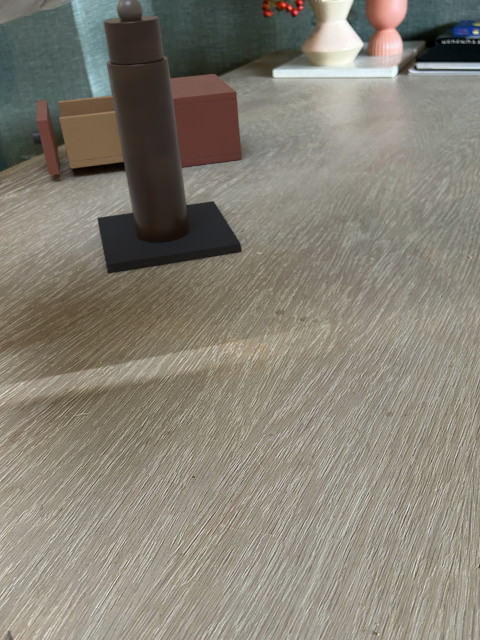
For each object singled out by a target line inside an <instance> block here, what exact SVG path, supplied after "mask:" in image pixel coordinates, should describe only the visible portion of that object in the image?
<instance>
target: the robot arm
mask: <svg viewBox="0 0 480 640" xmlns="http://www.w3.org/2000/svg"><path fill="white" fill-rule="evenodd" d="M73 1H74V0H0V25H4V24H7V23H9V22H12V21H15V20H18V19H21V18H25V17H27V16H31V15H34V14H36V13H40V12H43V11H51V10H53V9H56V8H60V7H63V6H65V5H67V4H69V3H71V2H73Z"/></svg>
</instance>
